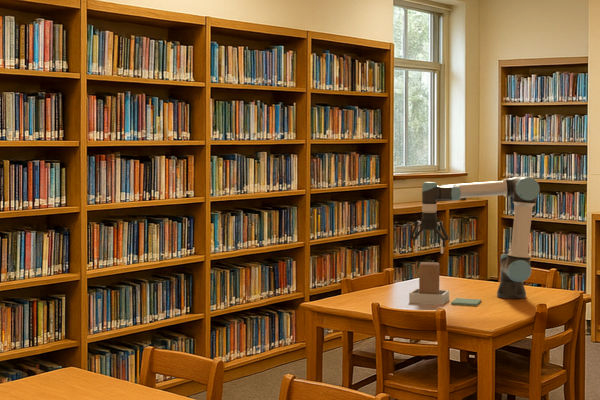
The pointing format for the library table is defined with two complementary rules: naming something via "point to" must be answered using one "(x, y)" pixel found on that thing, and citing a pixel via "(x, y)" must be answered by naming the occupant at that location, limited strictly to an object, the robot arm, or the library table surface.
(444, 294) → the bin
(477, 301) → the mat
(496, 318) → the library table surface
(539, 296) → the library table surface
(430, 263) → the block
